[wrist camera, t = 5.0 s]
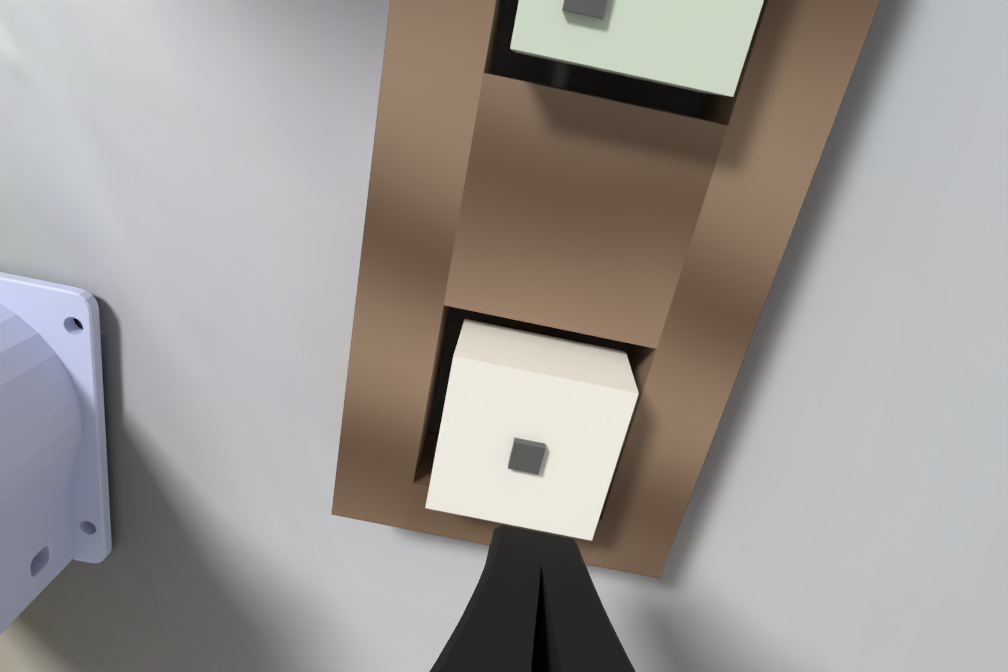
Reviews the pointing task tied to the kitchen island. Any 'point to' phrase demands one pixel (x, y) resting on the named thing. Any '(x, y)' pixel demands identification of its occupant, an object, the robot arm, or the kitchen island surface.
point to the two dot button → (643, 38)
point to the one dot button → (531, 429)
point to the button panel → (576, 247)
